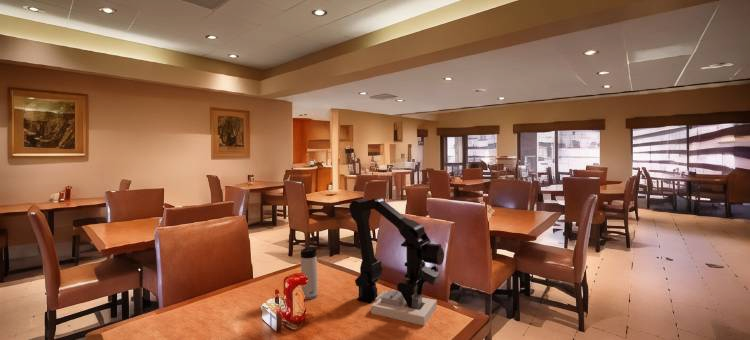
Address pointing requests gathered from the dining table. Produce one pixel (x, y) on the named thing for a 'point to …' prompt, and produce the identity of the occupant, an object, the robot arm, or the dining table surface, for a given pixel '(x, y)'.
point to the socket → (405, 310)
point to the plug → (417, 302)
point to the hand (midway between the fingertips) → (414, 302)
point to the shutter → (393, 298)
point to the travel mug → (309, 272)
